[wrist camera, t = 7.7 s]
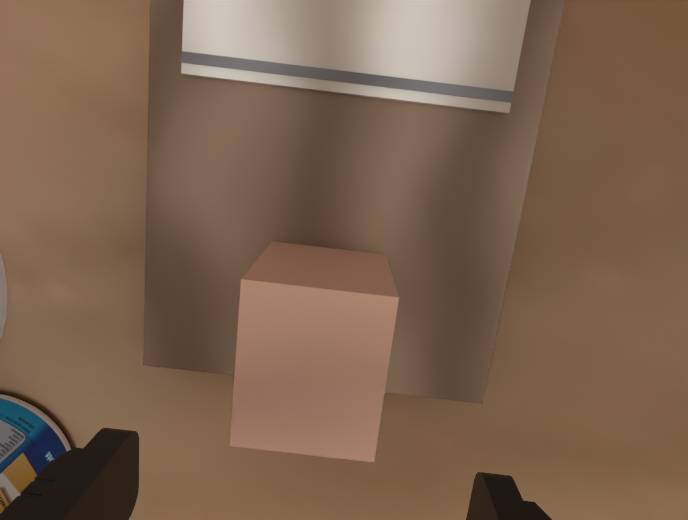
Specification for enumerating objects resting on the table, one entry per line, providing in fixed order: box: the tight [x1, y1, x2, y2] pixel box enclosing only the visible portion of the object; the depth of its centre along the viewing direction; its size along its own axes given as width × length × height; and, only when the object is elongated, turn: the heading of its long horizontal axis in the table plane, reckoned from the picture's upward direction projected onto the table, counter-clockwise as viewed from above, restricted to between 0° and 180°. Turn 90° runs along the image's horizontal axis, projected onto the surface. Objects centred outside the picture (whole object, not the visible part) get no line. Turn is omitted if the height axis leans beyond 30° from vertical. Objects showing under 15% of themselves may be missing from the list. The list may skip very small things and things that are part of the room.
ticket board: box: [143, 0, 565, 404], centre depth 20 cm, size 16×24×2 cm, turn 173°
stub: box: [230, 241, 399, 462], centre depth 19 cm, size 5×6×6 cm
